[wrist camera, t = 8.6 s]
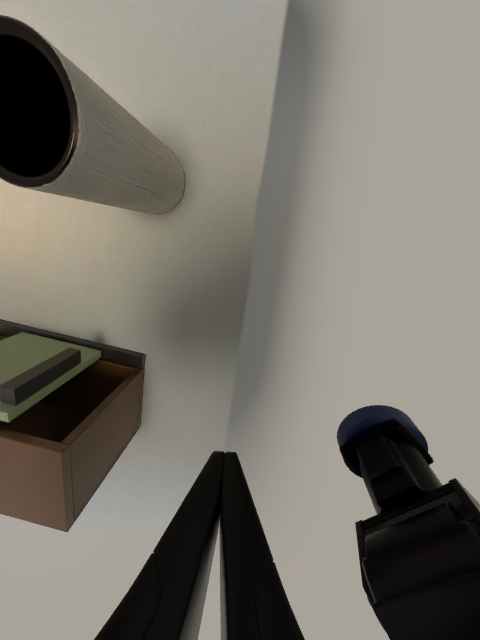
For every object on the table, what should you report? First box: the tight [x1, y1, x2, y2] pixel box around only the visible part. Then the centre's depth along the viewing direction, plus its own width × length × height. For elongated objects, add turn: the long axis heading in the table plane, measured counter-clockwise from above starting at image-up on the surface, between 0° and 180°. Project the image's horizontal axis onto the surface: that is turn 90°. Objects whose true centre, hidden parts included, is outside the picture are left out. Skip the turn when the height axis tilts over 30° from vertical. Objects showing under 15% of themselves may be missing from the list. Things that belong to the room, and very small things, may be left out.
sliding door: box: [0, 332, 101, 422], centre depth 18 cm, size 8×2×8 cm, turn 79°
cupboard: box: [0, 320, 145, 532], centre depth 19 cm, size 15×9×10 cm, turn 79°
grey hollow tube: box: [0, 15, 185, 214], centre depth 13 cm, size 4×4×10 cm
